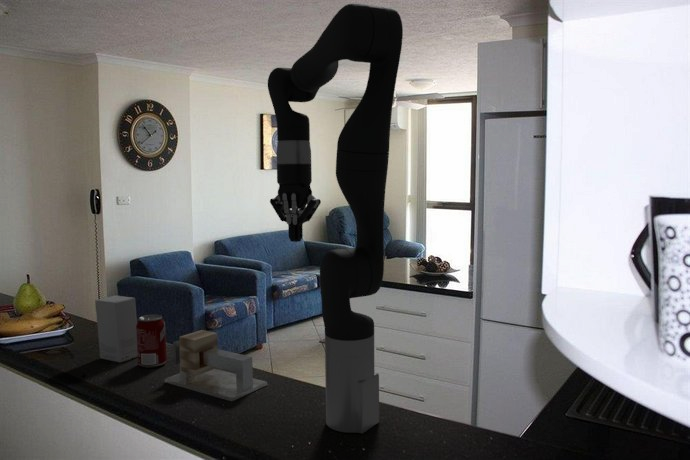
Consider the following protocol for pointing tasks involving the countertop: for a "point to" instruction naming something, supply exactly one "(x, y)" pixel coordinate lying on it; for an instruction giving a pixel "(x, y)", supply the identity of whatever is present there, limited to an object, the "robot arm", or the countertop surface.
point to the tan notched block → (196, 351)
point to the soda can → (151, 341)
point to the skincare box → (117, 328)
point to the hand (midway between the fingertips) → (295, 241)
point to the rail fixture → (219, 374)
